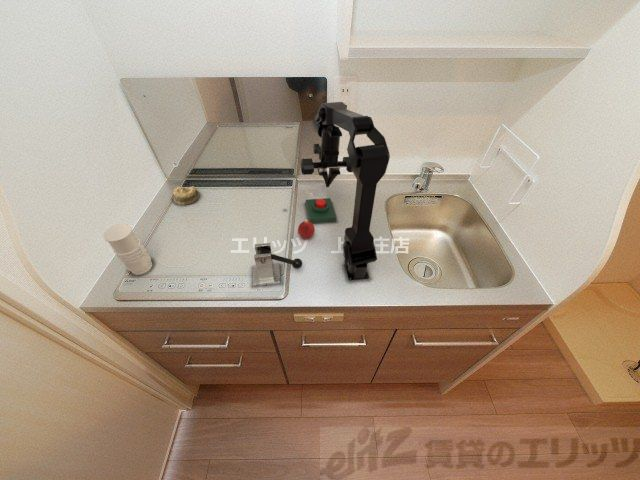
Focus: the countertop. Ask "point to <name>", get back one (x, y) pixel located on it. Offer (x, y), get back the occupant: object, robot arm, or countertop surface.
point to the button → (320, 203)
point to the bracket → (265, 267)
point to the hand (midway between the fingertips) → (327, 186)
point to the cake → (185, 195)
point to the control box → (320, 211)
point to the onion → (306, 229)
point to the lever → (282, 258)
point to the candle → (128, 248)
